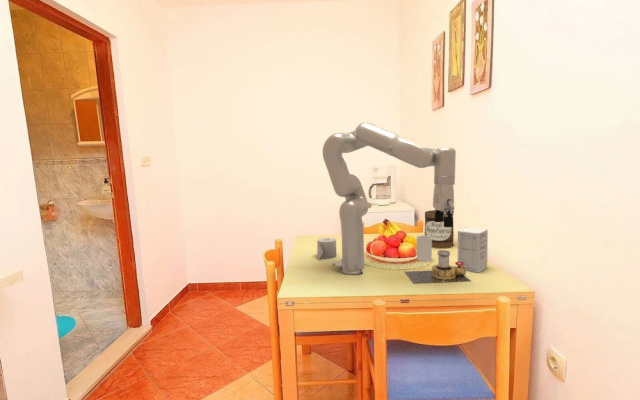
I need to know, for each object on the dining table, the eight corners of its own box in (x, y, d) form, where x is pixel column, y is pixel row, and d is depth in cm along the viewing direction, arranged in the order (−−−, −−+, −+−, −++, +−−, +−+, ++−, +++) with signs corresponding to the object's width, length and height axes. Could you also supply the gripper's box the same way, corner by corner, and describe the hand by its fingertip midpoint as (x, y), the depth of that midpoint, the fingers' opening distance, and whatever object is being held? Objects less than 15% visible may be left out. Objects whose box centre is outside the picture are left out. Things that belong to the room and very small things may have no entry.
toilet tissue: (315, 261, 169) (315, 243, 168) (319, 253, 182) (319, 237, 181) (334, 261, 168) (333, 244, 167) (337, 253, 181) (336, 237, 180)
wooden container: (423, 247, 187) (423, 206, 184) (426, 240, 200) (426, 202, 198) (452, 249, 181) (453, 207, 178) (453, 242, 194) (454, 203, 192)
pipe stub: (439, 276, 136) (440, 253, 135) (435, 272, 141) (435, 250, 140) (451, 275, 136) (451, 253, 135) (447, 271, 141) (447, 250, 140)
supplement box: (488, 267, 151) (488, 229, 149) (479, 273, 144) (480, 233, 142) (465, 263, 158) (466, 226, 155) (456, 268, 151) (457, 230, 149)
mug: (431, 265, 157) (431, 239, 155) (416, 264, 159) (416, 238, 157) (432, 258, 166) (432, 234, 165) (417, 258, 168) (417, 233, 167)
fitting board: (413, 287, 131) (413, 270, 131) (404, 275, 145) (403, 259, 145) (471, 285, 132) (472, 268, 131) (456, 272, 146) (456, 257, 145)
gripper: (427, 179, 142) (426, 220, 145) (443, 182, 125) (441, 229, 127) (445, 178, 142) (444, 220, 145) (463, 182, 125) (462, 228, 128)
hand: (443, 224), depth 136 cm, fingers open, 9 cm apart
